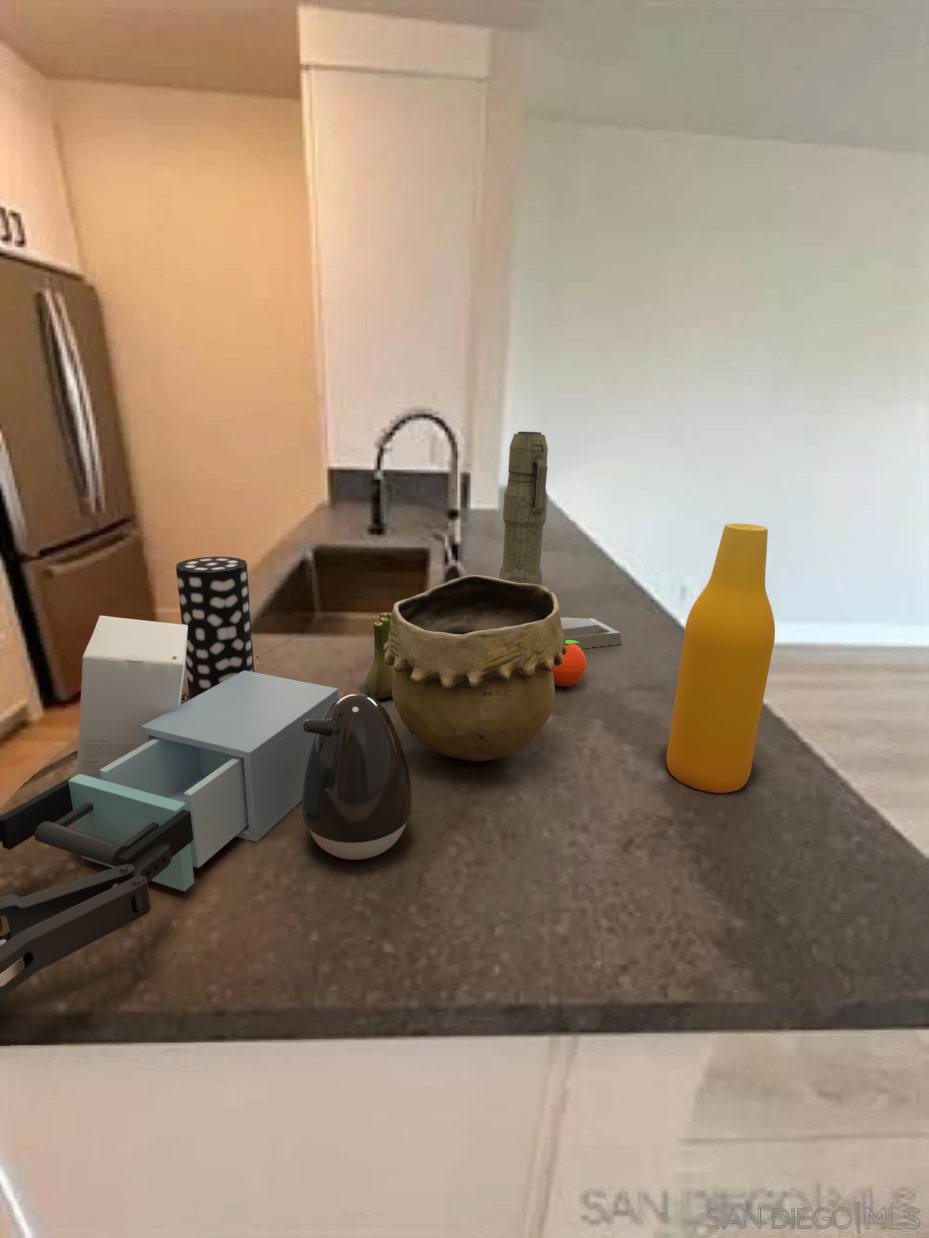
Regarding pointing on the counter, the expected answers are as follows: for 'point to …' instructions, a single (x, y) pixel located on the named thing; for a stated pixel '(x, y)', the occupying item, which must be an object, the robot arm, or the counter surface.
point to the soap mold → (589, 632)
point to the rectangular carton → (126, 686)
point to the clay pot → (475, 665)
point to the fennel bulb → (380, 662)
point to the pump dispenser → (356, 780)
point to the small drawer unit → (254, 737)
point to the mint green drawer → (154, 806)
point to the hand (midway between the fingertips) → (130, 807)
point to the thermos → (525, 508)
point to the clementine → (570, 665)
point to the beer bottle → (724, 668)
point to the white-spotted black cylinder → (215, 620)
